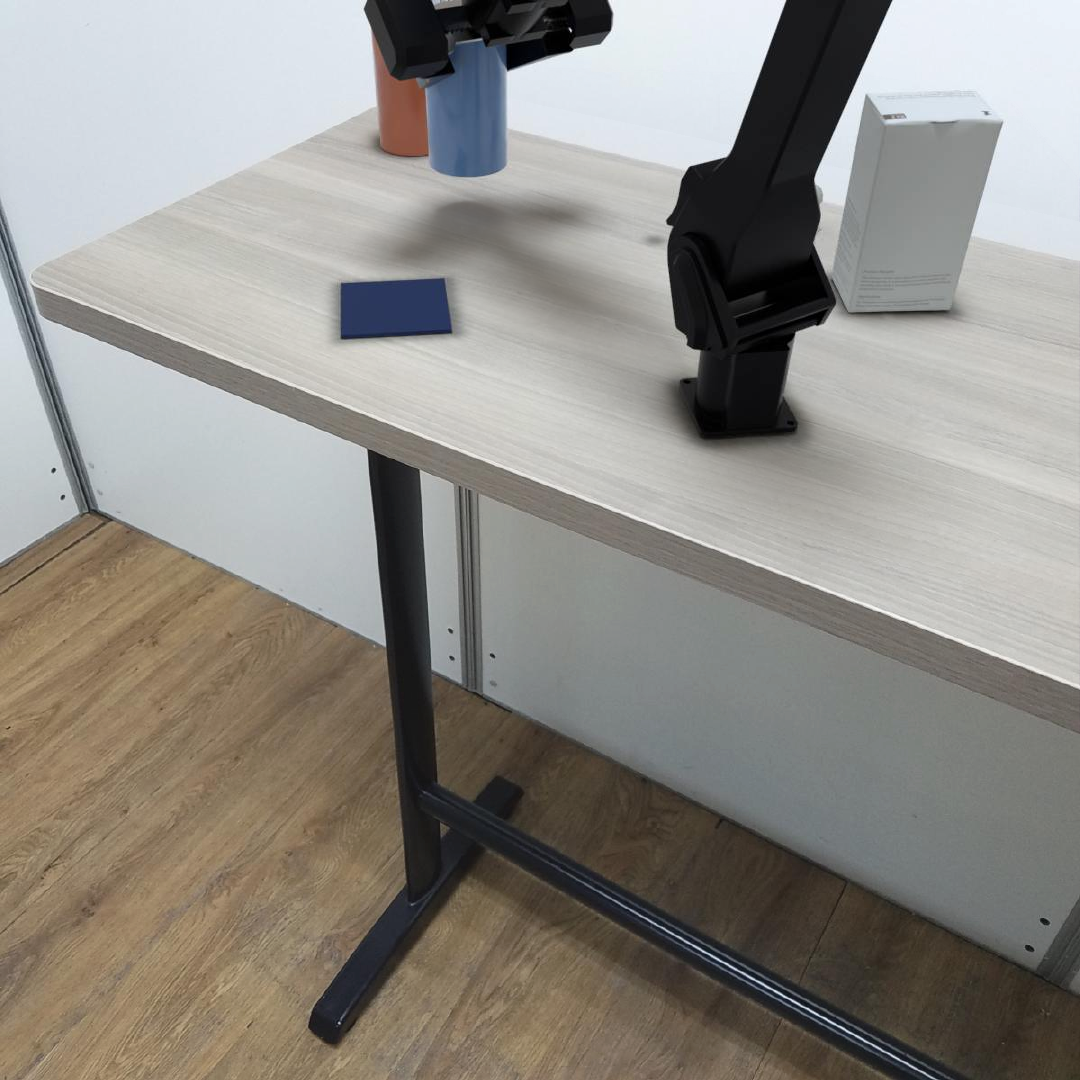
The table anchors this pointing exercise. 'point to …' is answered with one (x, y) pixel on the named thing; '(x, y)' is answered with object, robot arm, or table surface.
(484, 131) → the blue jar
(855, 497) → the table surface
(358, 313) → the blue mat
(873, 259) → the cosmetic box
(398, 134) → the terracotta jar
